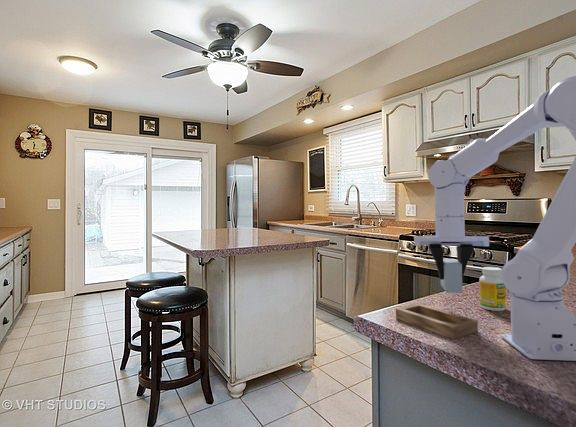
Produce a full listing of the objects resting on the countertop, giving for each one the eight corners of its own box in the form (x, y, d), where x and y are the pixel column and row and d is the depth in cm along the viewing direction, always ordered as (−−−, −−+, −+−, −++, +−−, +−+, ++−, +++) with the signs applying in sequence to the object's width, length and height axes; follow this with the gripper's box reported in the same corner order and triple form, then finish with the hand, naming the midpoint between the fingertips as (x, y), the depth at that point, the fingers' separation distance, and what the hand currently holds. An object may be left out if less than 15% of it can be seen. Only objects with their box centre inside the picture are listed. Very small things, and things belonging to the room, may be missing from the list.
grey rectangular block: (440, 284, 76) (439, 258, 76) (455, 284, 75) (454, 258, 75) (446, 292, 68) (445, 263, 68) (462, 293, 67) (462, 264, 67)
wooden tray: (477, 331, 64) (477, 320, 64) (453, 339, 61) (453, 327, 61) (418, 312, 77) (418, 303, 77) (396, 318, 73) (395, 308, 73)
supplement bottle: (486, 303, 83) (485, 265, 83) (510, 308, 78) (509, 268, 78) (475, 307, 80) (474, 268, 80) (499, 312, 75) (498, 271, 75)
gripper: (482, 215, 73) (483, 276, 73) (412, 216, 77) (414, 274, 77) (491, 216, 66) (493, 283, 66) (415, 217, 70) (416, 280, 71)
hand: (450, 278), depth 71 cm, fingers closed on grey rectangular block, 3 cm apart
